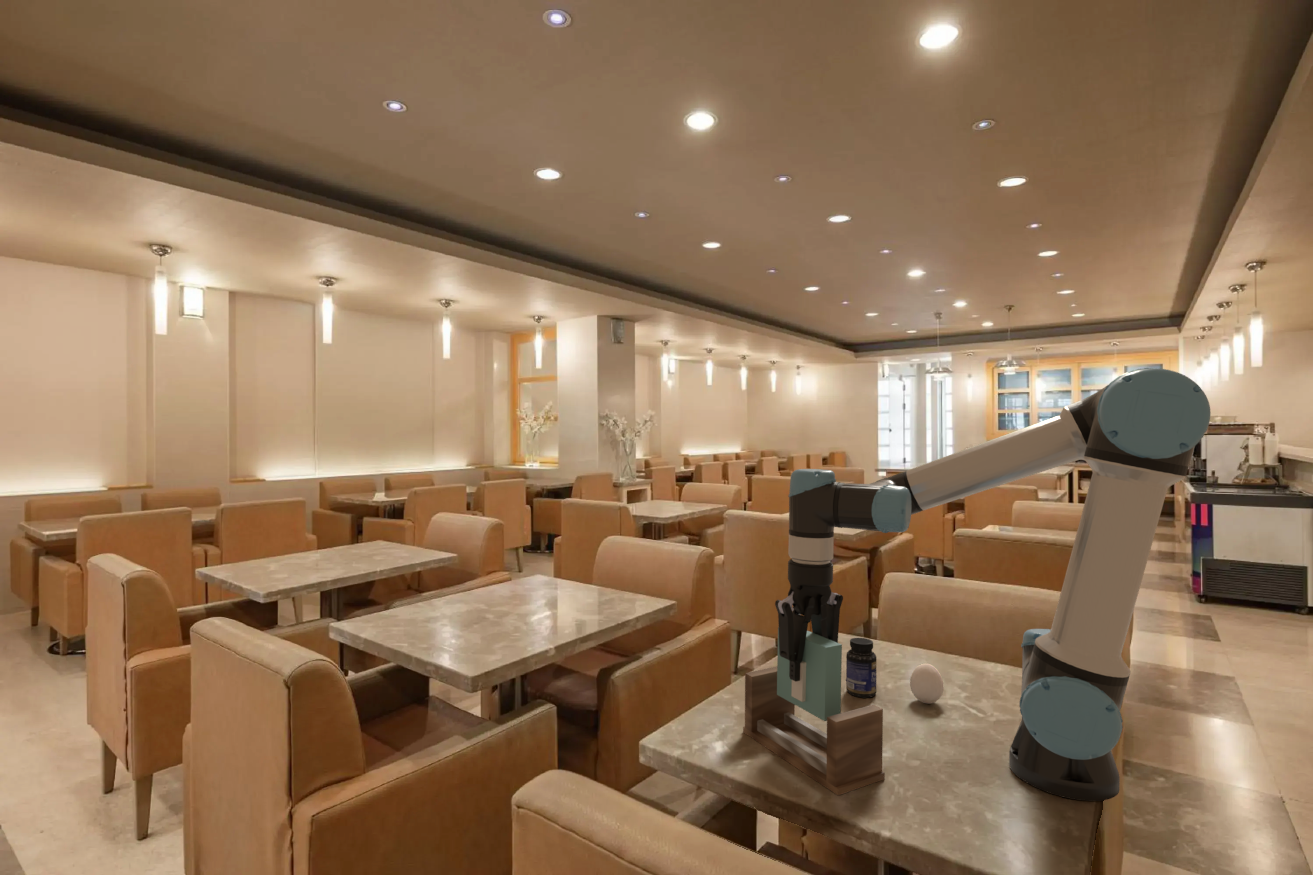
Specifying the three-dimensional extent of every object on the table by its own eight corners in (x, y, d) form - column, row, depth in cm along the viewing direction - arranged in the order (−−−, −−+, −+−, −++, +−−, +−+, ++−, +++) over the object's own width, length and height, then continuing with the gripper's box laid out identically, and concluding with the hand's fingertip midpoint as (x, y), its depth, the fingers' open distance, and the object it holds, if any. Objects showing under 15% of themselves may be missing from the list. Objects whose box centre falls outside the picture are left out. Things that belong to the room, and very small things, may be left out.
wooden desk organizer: (884, 778, 106) (885, 710, 105) (838, 795, 101) (838, 723, 101) (785, 720, 127) (786, 663, 126) (743, 731, 122) (743, 672, 122)
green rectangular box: (840, 716, 109) (841, 644, 109) (824, 721, 108) (825, 647, 107) (792, 690, 120) (793, 624, 120) (776, 694, 118) (778, 627, 118)
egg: (922, 693, 140) (922, 656, 140) (950, 704, 135) (950, 665, 134) (903, 700, 136) (903, 661, 136) (930, 711, 131) (931, 671, 131)
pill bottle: (878, 699, 137) (878, 646, 137) (847, 697, 138) (847, 644, 138) (874, 688, 143) (874, 637, 143) (845, 685, 144) (845, 635, 144)
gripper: (831, 552, 121) (828, 680, 121) (758, 559, 113) (755, 697, 113) (862, 559, 114) (859, 695, 114) (787, 568, 106) (784, 714, 106)
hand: (807, 695), depth 114 cm, fingers closed on green rectangular box, 3 cm apart
